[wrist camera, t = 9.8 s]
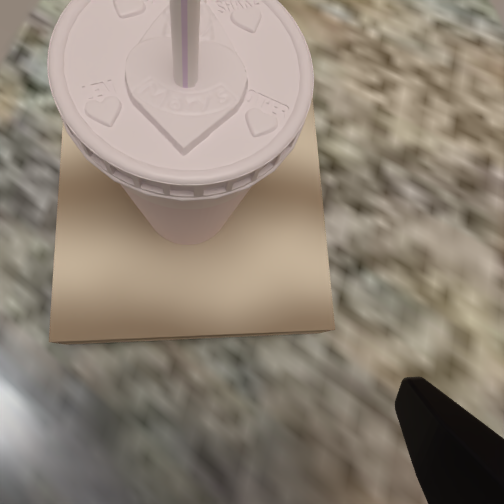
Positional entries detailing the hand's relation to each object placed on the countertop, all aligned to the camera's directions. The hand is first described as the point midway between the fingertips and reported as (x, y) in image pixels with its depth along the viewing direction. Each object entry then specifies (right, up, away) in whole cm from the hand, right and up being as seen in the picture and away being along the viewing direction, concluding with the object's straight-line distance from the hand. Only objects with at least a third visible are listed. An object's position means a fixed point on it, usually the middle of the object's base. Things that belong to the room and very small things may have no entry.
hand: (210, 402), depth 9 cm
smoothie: (-2, +5, +10) cm, 12 cm away
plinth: (-2, +5, +12) cm, 14 cm away
